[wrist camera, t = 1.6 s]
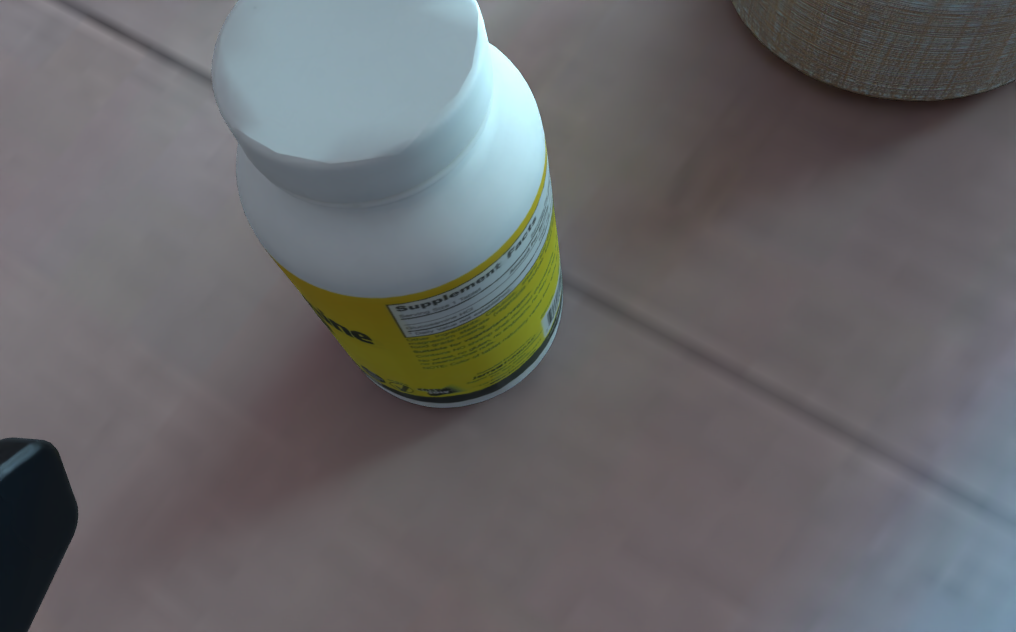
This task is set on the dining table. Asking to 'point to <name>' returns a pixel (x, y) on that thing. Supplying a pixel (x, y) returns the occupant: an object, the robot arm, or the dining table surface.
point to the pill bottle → (398, 186)
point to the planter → (892, 44)
